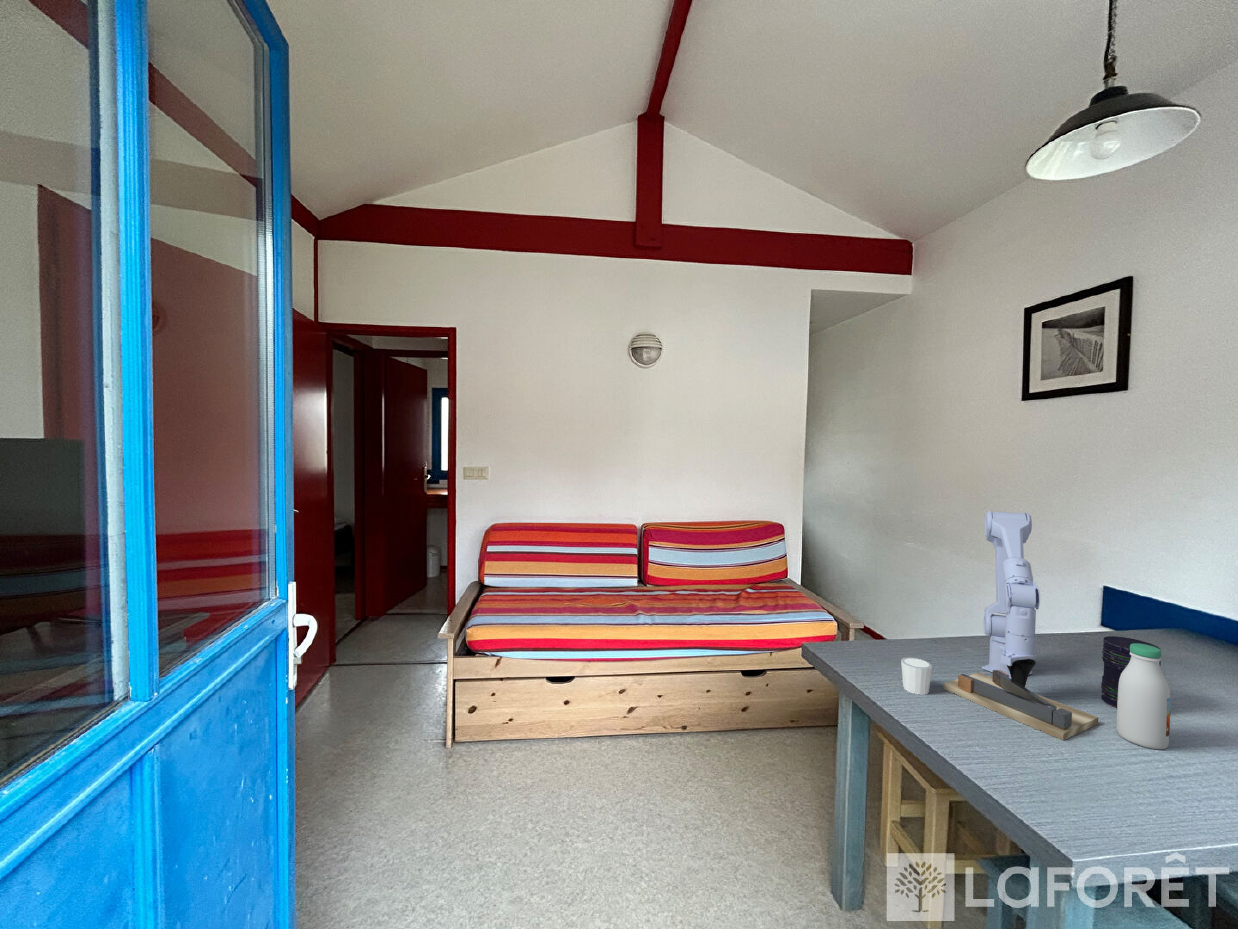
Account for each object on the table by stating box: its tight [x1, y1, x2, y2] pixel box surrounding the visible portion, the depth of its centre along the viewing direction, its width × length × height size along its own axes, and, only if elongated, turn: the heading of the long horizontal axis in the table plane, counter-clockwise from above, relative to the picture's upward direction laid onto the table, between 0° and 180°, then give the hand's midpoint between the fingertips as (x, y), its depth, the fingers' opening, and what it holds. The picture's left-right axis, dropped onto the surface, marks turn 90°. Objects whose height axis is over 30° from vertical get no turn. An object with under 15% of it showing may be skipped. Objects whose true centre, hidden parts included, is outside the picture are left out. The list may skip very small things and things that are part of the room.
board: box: [943, 671, 1099, 741], centre depth 121 cm, size 15×25×2 cm, turn 25°
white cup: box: [900, 657, 933, 696], centre depth 129 cm, size 7×7×7 cm
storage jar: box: [1100, 635, 1162, 709], centre depth 121 cm, size 10×10×15 cm
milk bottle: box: [1116, 643, 1171, 750], centre depth 107 cm, size 8×8×20 cm
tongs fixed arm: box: [957, 673, 1072, 729], centre depth 118 cm, size 4×21×3 cm, turn 25°
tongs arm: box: [992, 670, 1057, 710], centre depth 121 cm, size 2×19×3 cm, turn 177°
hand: (1018, 687), depth 124 cm, fingers closed
